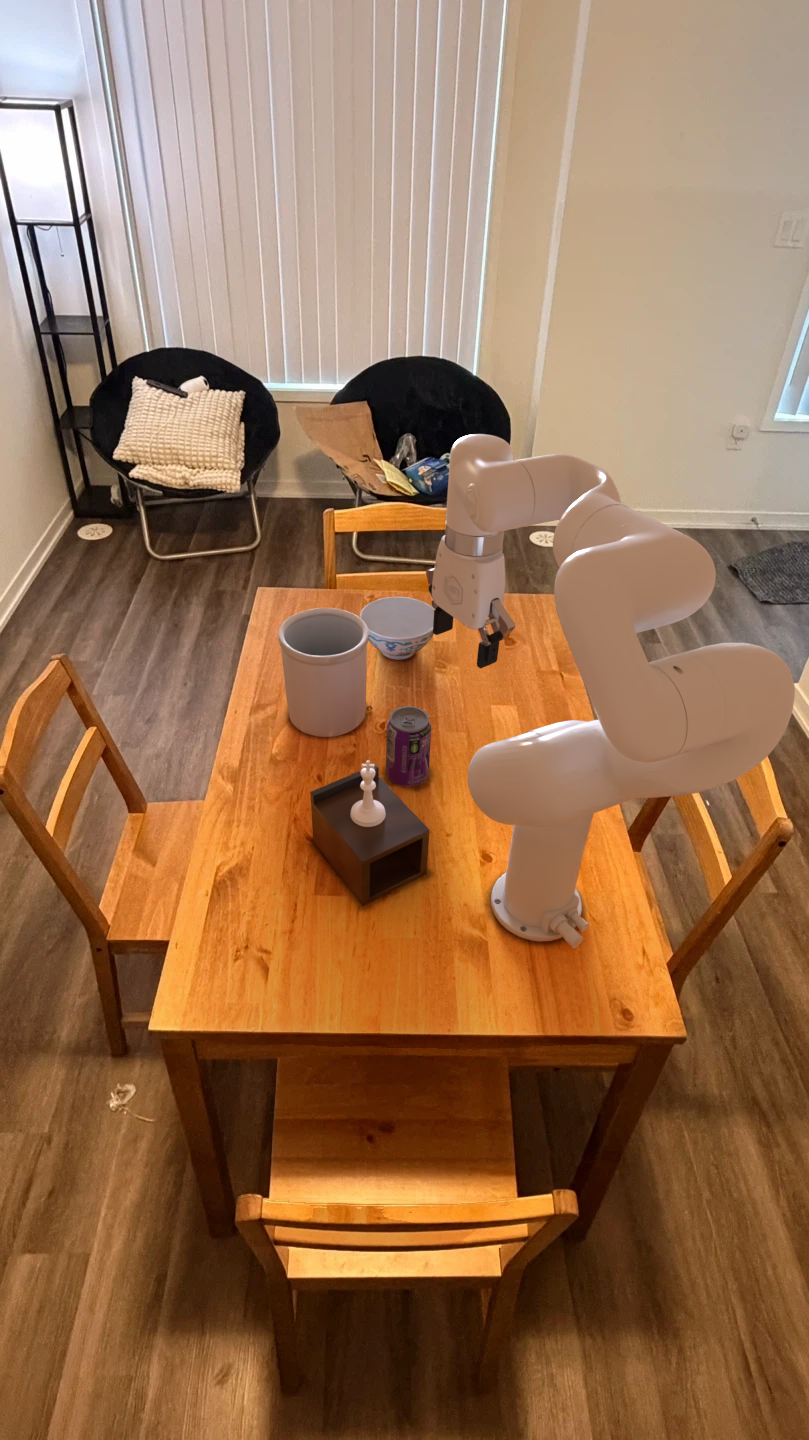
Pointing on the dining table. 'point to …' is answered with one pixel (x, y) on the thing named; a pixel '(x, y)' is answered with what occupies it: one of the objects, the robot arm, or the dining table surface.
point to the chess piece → (368, 801)
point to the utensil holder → (325, 670)
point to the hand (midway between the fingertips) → (464, 647)
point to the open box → (368, 838)
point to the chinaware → (398, 625)
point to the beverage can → (408, 746)
